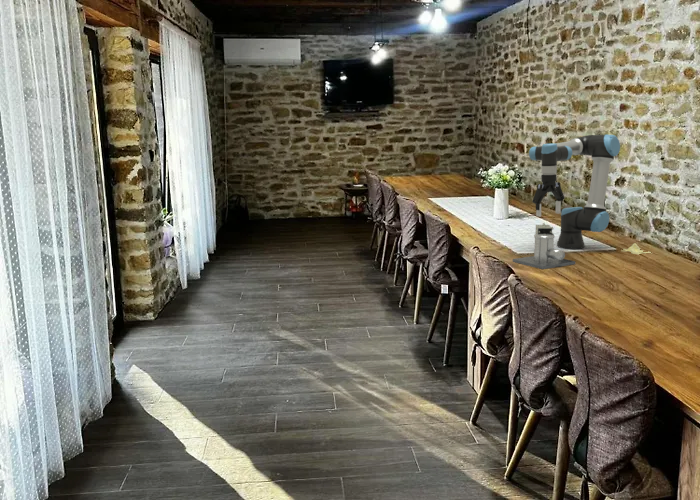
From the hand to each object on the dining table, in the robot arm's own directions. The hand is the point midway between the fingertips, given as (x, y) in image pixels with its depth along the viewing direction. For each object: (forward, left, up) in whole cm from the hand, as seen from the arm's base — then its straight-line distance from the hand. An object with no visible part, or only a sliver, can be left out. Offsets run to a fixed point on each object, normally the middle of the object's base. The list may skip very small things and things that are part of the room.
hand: (548, 214), depth 317 cm
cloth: (-60, +6, -27) cm, 66 cm away
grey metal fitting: (+6, +4, -23) cm, 24 cm away
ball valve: (-8, -11, -25) cm, 28 cm away
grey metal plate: (+6, +4, -24) cm, 25 cm away
